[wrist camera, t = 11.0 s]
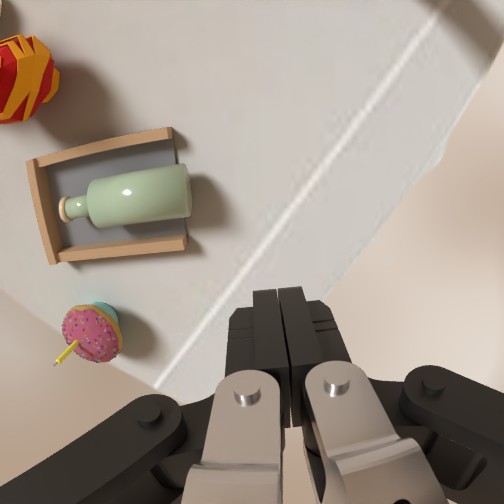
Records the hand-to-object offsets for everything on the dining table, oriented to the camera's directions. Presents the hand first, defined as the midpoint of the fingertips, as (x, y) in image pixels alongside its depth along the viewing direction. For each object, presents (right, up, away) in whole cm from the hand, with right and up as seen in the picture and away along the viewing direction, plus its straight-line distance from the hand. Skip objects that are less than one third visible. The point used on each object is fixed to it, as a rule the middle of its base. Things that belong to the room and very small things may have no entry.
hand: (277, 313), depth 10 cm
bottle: (-7, +8, +21) cm, 24 cm away
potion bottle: (-26, +23, +18) cm, 39 cm away
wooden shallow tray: (-18, +8, +24) cm, 31 cm away
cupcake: (-21, -7, +30) cm, 38 cm away
